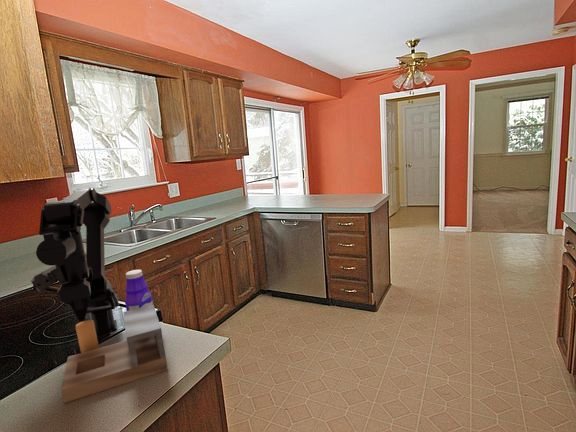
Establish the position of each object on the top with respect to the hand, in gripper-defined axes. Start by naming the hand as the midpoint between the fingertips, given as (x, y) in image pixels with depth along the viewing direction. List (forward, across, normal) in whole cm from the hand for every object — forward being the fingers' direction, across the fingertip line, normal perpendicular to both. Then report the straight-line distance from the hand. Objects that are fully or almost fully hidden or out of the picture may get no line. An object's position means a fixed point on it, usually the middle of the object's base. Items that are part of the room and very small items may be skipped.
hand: (83, 314), depth 88 cm
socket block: (+10, +12, +6) cm, 17 cm away
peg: (+10, 0, 0) cm, 11 cm away
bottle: (+11, -4, +13) cm, 17 cm away
